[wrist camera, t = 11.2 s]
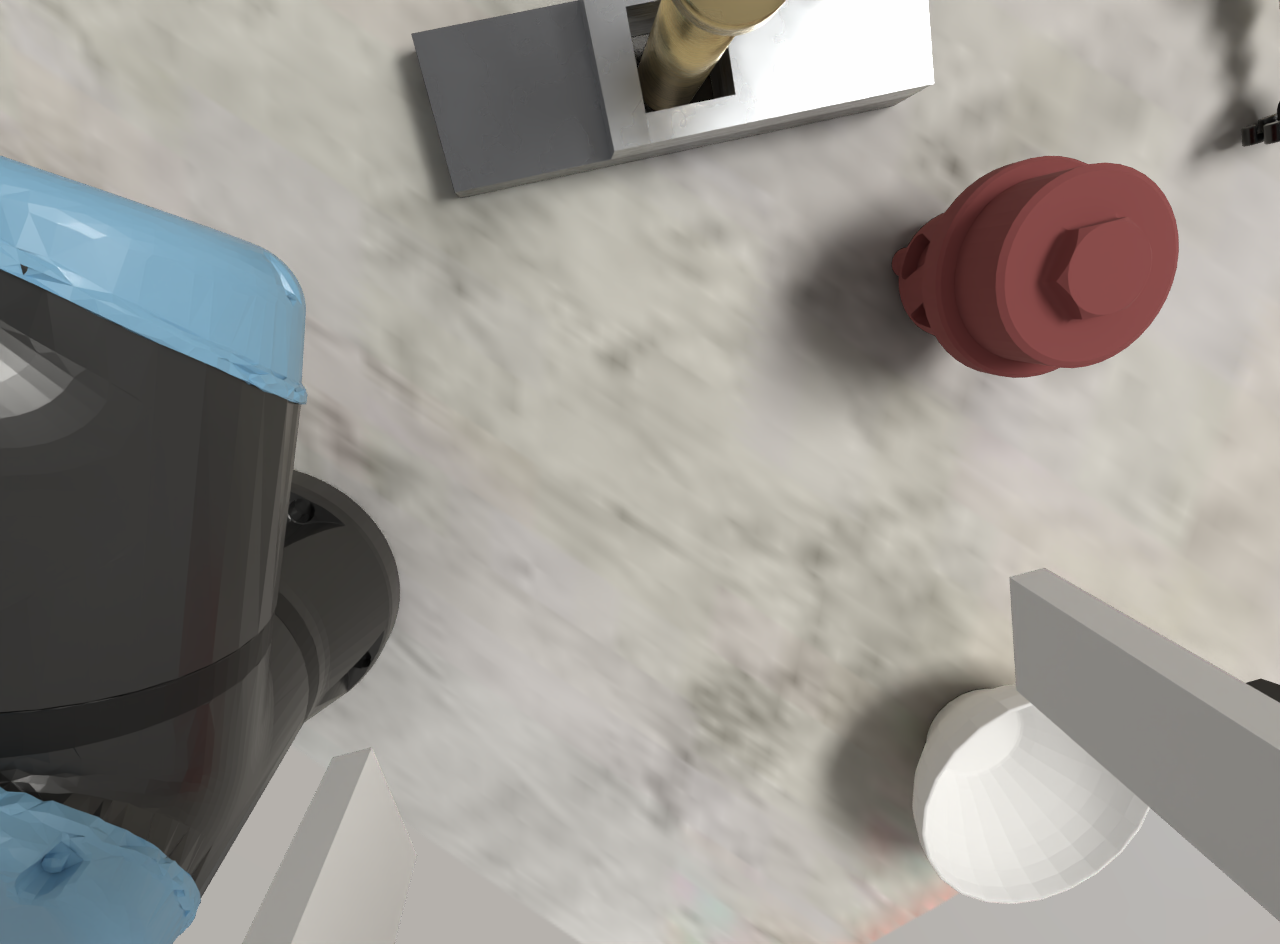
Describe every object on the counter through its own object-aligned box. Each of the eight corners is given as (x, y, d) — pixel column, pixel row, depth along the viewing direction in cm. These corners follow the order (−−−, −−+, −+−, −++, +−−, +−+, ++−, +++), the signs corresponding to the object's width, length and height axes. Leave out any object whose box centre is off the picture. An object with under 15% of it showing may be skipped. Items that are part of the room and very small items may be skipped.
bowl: (827, 768, 47) (871, 847, 40) (969, 597, 45) (1041, 651, 38) (978, 851, 51) (1041, 936, 44) (1117, 698, 48) (1206, 764, 42)
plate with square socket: (460, 198, 34) (448, 186, 30) (420, 48, 32) (401, 16, 28) (893, 105, 35) (933, 83, 32) (880, -44, 33) (921, -87, 30)
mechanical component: (979, 379, 40) (835, 334, 38) (1048, 215, 38) (898, 159, 36) (1152, 416, 29) (956, 353, 27) (1266, 181, 26) (1060, 95, 24)
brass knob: (633, 136, 34) (680, 35, 21) (614, 38, 33) (651, -139, 19) (717, 118, 35) (818, 7, 21) (701, 20, 33) (798, -166, 20)
